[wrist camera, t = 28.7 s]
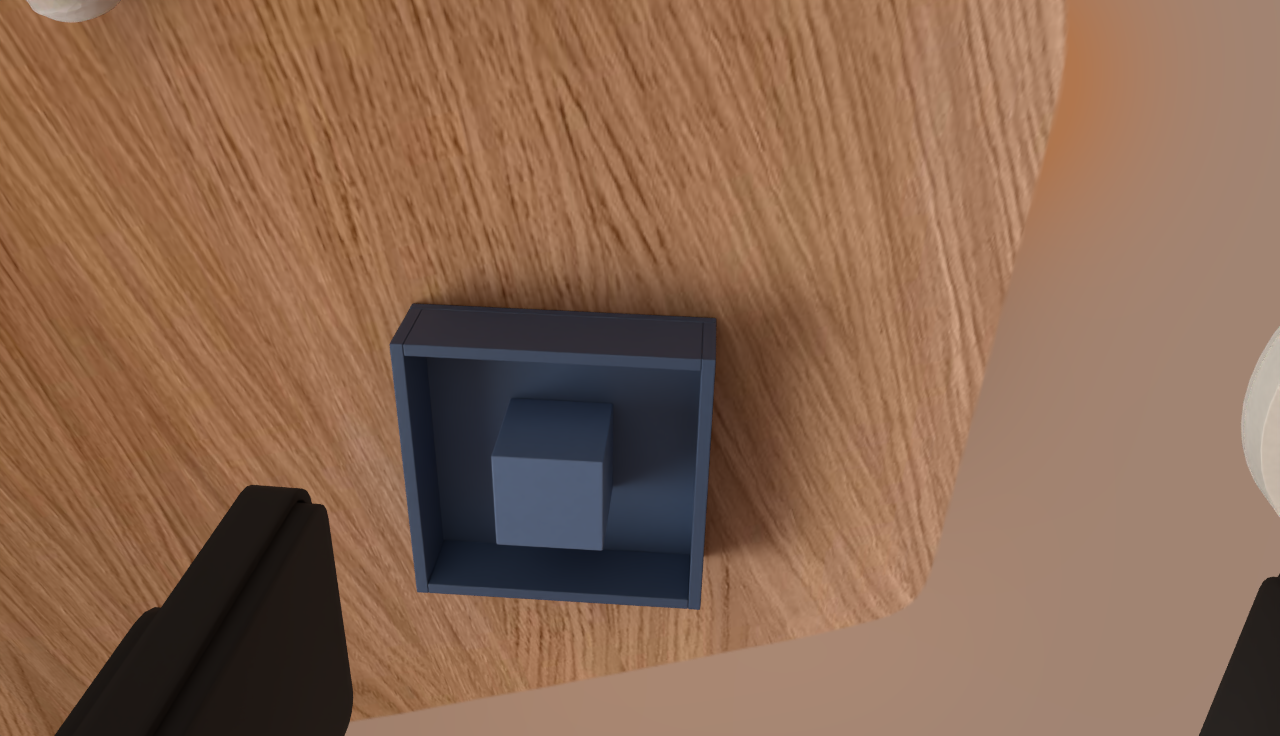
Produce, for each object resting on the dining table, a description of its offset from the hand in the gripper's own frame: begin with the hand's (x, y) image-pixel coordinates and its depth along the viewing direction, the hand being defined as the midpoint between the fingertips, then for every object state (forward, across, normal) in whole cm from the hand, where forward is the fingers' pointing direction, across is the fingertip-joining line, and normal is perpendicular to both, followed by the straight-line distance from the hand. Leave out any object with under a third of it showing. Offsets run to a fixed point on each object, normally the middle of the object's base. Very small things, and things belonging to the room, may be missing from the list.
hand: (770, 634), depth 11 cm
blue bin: (+36, +7, +22) cm, 42 cm away
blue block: (+35, +8, +22) cm, 42 cm away
